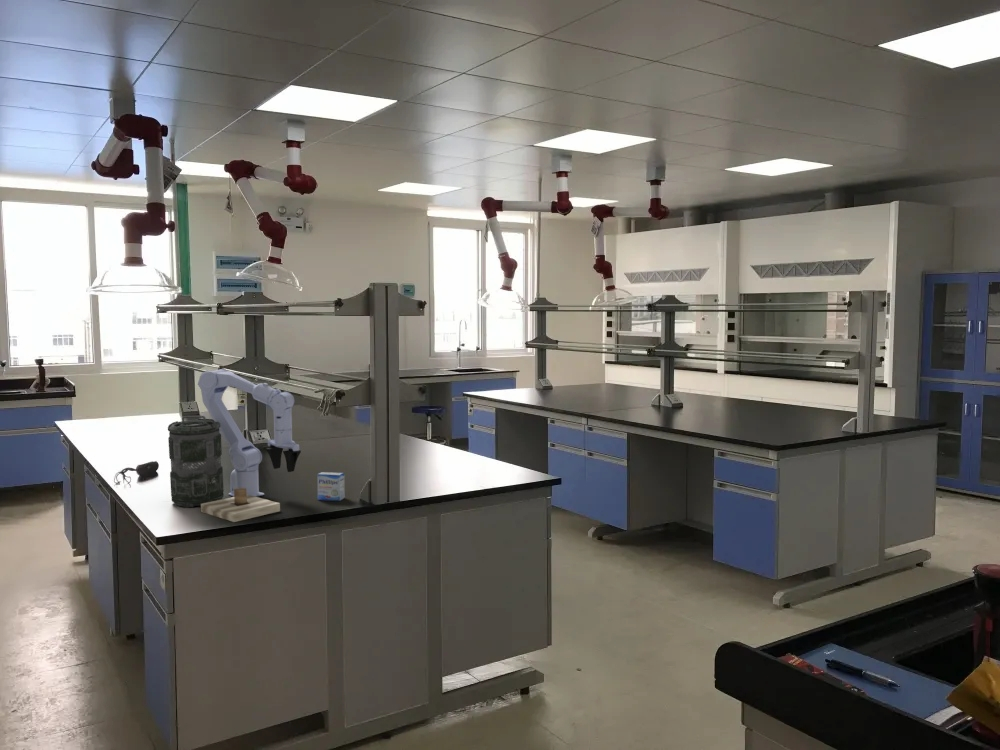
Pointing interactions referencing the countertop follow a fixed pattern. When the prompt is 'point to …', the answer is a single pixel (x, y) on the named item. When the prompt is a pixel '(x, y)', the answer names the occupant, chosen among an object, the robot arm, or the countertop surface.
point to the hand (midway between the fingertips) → (283, 469)
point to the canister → (195, 461)
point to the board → (240, 508)
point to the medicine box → (331, 486)
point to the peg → (240, 496)
